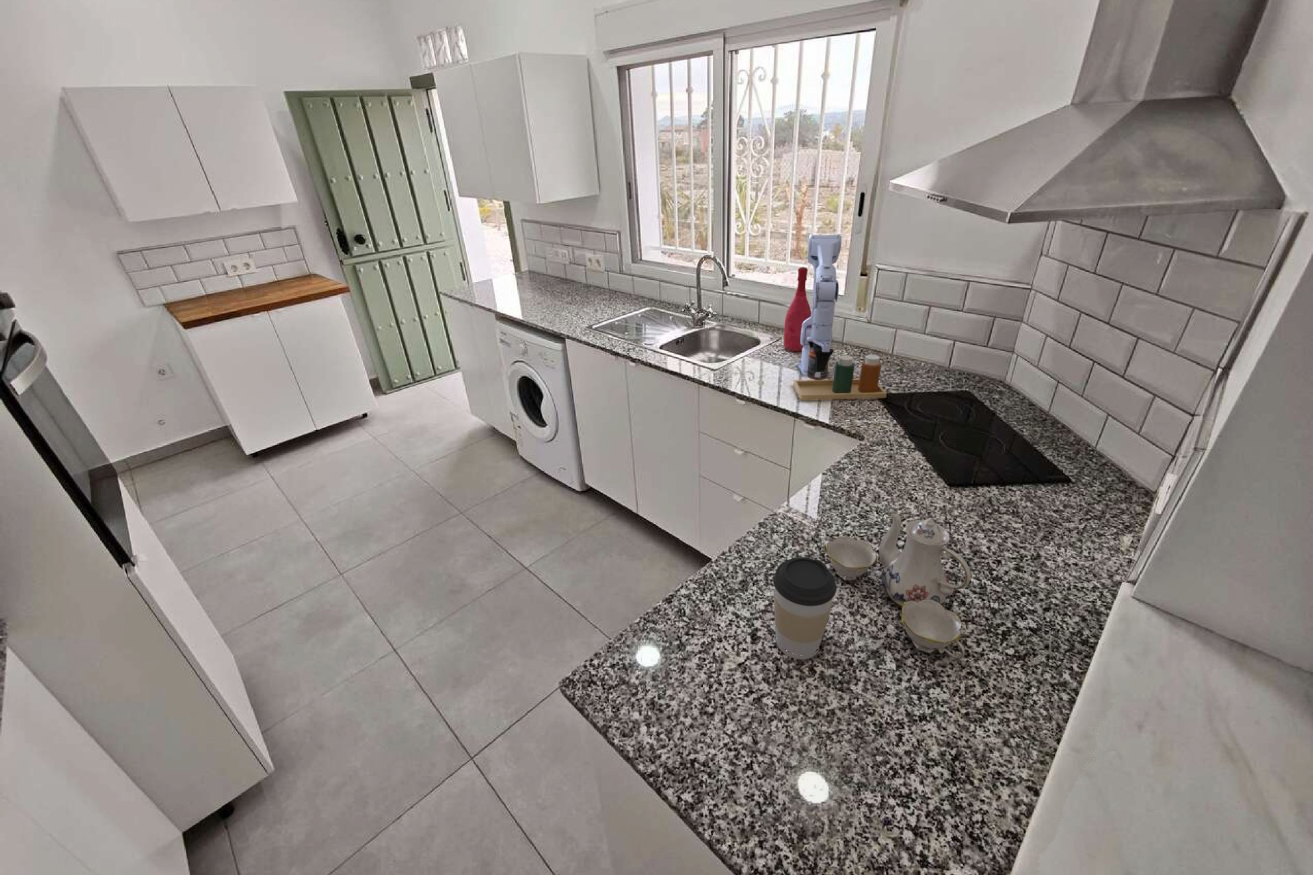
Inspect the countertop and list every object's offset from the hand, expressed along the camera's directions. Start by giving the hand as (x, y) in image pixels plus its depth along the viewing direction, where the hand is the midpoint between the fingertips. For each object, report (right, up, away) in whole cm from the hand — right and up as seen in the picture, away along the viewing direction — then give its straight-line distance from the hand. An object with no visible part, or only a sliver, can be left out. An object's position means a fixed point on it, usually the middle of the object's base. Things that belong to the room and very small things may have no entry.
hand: (817, 366), depth 165 cm
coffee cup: (-27, -54, -79) cm, 99 cm away
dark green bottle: (+8, -7, +4) cm, 12 cm away
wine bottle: (+4, +12, +41) cm, 43 cm away
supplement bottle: (0, -3, +2) cm, 4 cm away
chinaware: (-8, -50, -72) cm, 88 cm away
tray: (+7, -8, +4) cm, 11 cm away
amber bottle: (+16, -7, +3) cm, 18 cm away
